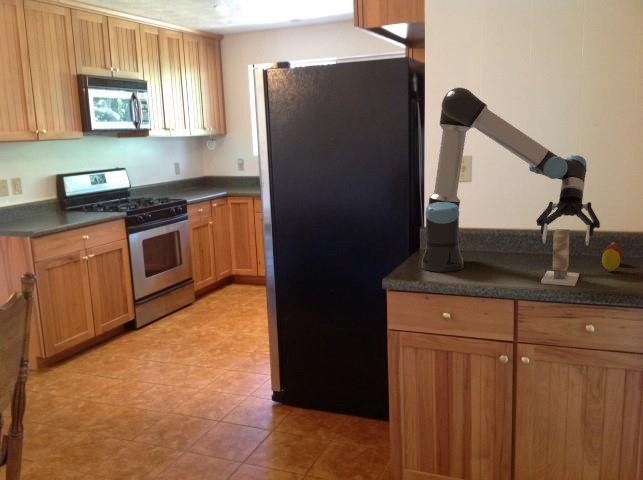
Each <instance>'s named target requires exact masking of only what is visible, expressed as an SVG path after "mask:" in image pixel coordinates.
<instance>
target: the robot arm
mask: <svg viewBox="0 0 643 480" xmlns="http://www.w3.org/2000/svg"><path fill="white" fill-rule="evenodd" d="M439 127H441V129H442V135H441V142H440V149H439V155H438V162H437V171H436V175H435V182H434V183H435V184H434V190H433V191H434V192H433V193H432V194H431V195H430V196H429V198H428V205H427V206H426V207H425V212H424V213H425V236H426V237H425V242H426V243H425V249H424V253H423V256H422V260H421V269H423V270H424V271H429V272H434V273H435V272H438V273H451V272H457V271H460V270H463V269H464V268H465V267H464V259H463V256H462V252H461V250H460V245H459V241H460V240H459V239H460V237H459V235H460V234H459V233H460V229H459V228H460V226H459V225H460V220H459V219H460V210H459V209H460V204H461V200H460V198H459V196H457V195H458V189H459V183H460V178H461V177H460V176H461V169H462V163H463V156H464V155H463V154H464V150H465V141H466V135H467V132H468V131H469V130H471V129H473V128H474V129H476V130H477V131H478V132H480V133H482V134H483V135H485V136H487V138H490V139H491V140H493V141H494V142H495V143H497V144H498V145H500V146H501V147H503V149H506V150H507V151H509V152H510V153H512V154H513V155H515V156H516V157H517V158H519V159H521V160H522V161H524V163H526V164H528V165H529V167H528V168H529V169H528V170H529V171H530V172H532V173H534V174H537V175H542V176H545V177H547V178H549V179H551V180H556V179H557V180H560V181H561V185H560V192H559V193H560V194H559V200H558V203H554V202H553V201H549V202H548V206H547V207H546V208H545V209H544V210H543V212H542V213H540V215H539V216H538V218H537V219H536V225H537V227H539V226H540V235H542V238H541V240H542V244H546V242H547V241H546V240H547V236H548V229H549V228H548V226H550V224H551V223H553V222H554V221H556V220H557V219H558V218H561V217H562V216H565V217H566V216H571V217H573V216H576V217H577V218H578V219H580V220H581V221H582V223H584V224H585V225H586V235H585V246H589V243H590V237H593V236H594V230H595V229H600V228H601V222H600V220H599V218H598V216H597V214H596V213H595V211H594V209H593V208H592V202H590V201H588V202H587V203H584V204H583V197H584V190H585V181H586V174H587V169H588V168H587V160H586V159H585V158H584V157H583V156H581V155H569V156H567V157H566V158H563V157H561V156H558V155H557V154H555V153H554V152H552V151H551V150H549V149H548V148H546V146H543V145H542V144H540V143H539V142H537V141H536V140H534V139H533V138H532V137H530V136H528V135H527V134H526V133H524V132H523V131H521V130H520V129H518V128H517V127H515V126H514V125H512V124H511V123H510V122H508V121H507V120H505V119H504V118H502V117H501V116H499V115H498V114H495V113H494V112H493V111H491V110H490V109H489V108H488V104H487V103H485V102H483V101H482V100H481V99H480V98H478V97H477V96H476V95H475V94H474V93H473V92H471V91H470V90H469V89H467V88H464V87H455V88H453V89H450V90H449V91H448V92H447V93H445V95H444V97H443V99H442V102H441V111H440V119H439ZM583 209H585V211H587V214H588V215H589V217H590V218H589V217H588V216H587V215H586V214H585V213H584V212H583V211H582V210H583ZM554 210H555V211H554ZM553 211H554V212H553ZM552 212H553V213H552Z"/></svg>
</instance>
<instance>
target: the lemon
mask: <svg viewBox="0 0 643 480" xmlns="http://www.w3.org/2000/svg"><path fill="white" fill-rule="evenodd" d="M601 263H602V266H603V267H604V268H605V269H606V270H607V271H609V272H611V273H612V271H614V270H616V269H618V267H619V266H620V263H621V258H620V256H619V253H618V252H617V251H615V250H613V249H612V248H611V249H609V250H607V251H605V252H604V251H603V254H602V258H601Z"/></svg>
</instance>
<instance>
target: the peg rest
mask: <svg viewBox="0 0 643 480" xmlns="http://www.w3.org/2000/svg"><path fill="white" fill-rule="evenodd" d="M579 277H580V272H568V268H567V269H566V271H562V270H546V272H545V273H544V275H543V277H542V278H541V281H540V283H541V284H544V285H545V284H546V285H555V286H556V285H557V286H569V287H571V286H572V287H575V286H576V285H577V282H578V279H579Z"/></svg>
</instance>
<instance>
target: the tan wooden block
mask: <svg viewBox="0 0 643 480" xmlns="http://www.w3.org/2000/svg"><path fill="white" fill-rule="evenodd" d="M552 240H553V243H552V270H551V271H554V270H562V271H566V269H567V270H568V267H569V258H570V254H569V253H570V229H563V228H562V229H559V228H556V230H554V232H553V239H552Z"/></svg>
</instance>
